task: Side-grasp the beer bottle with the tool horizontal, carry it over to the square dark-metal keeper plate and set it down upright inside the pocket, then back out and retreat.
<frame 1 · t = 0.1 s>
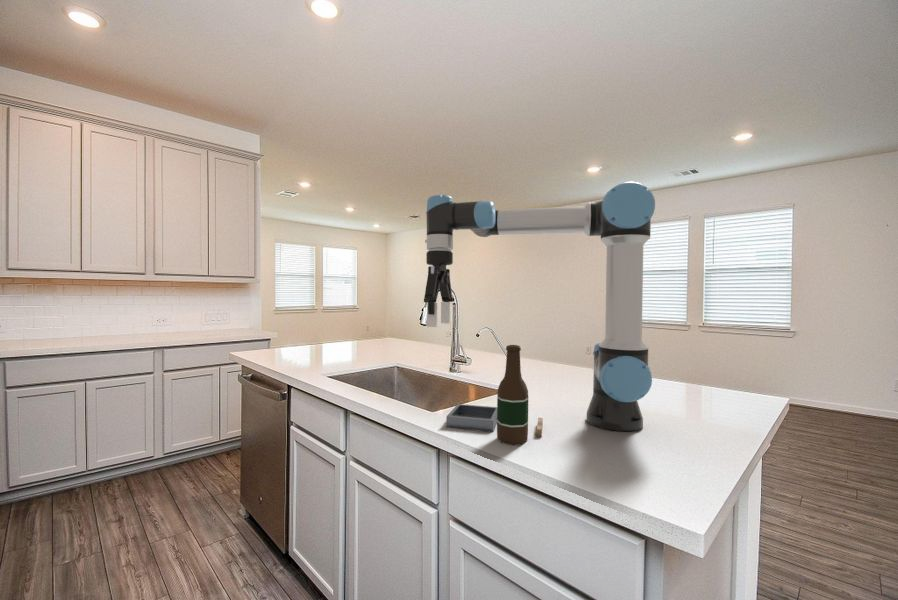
hand: (439, 325, 116), 28 cm above the worktop, tool pointing down, fingers open, 13 cm apart
keeper: (474, 422, 116), on the worktop
jamb strip: (539, 430, 109), on the worktop
beer bottle: (512, 440, 102), on the worktop
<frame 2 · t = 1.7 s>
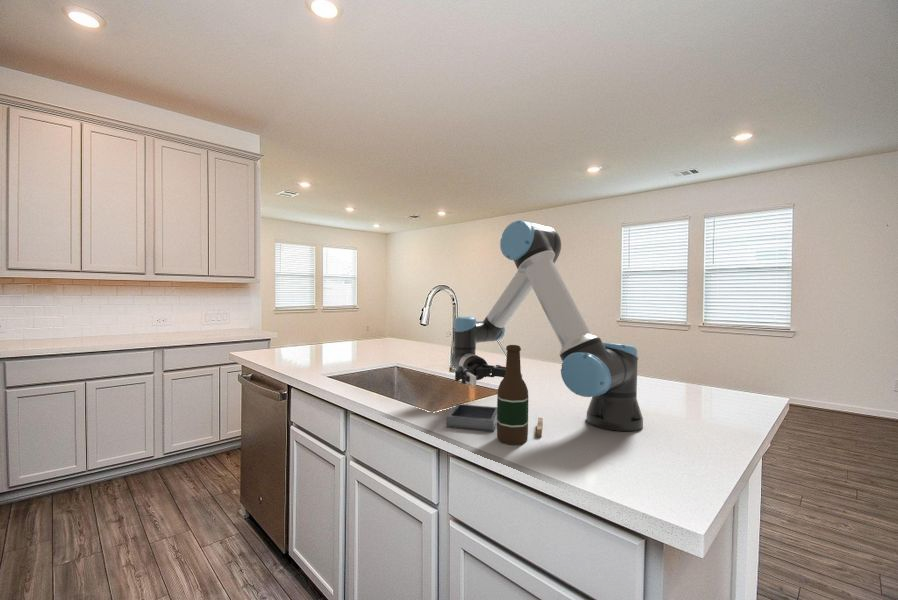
hand: (498, 380, 111), 13 cm above the worktop, tool horizontal, fingers open, 13 cm apart
nothing on the worktop moved.
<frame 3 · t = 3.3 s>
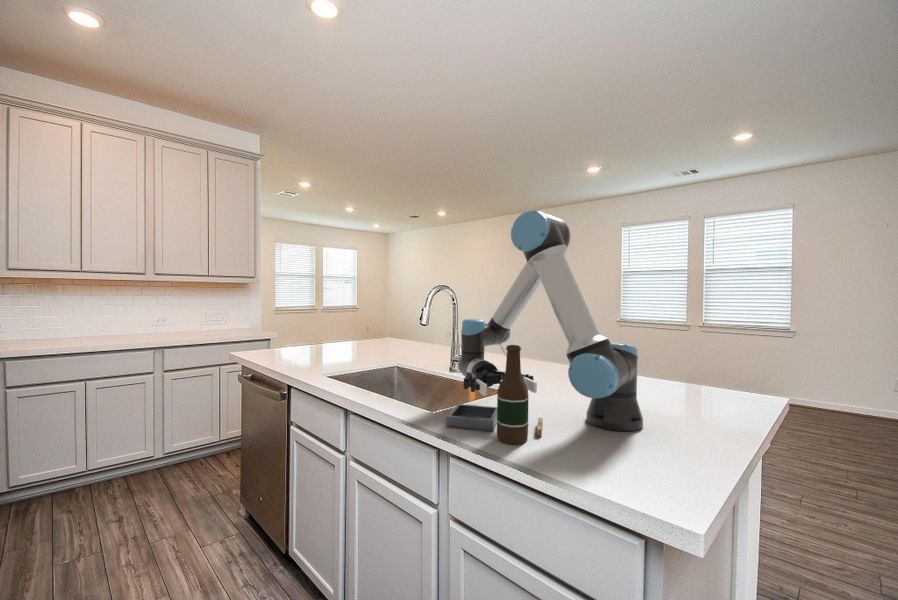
hand: (510, 388, 102), 13 cm above the worktop, tool horizontal, fingers open, 13 cm apart
nothing on the worktop moved.
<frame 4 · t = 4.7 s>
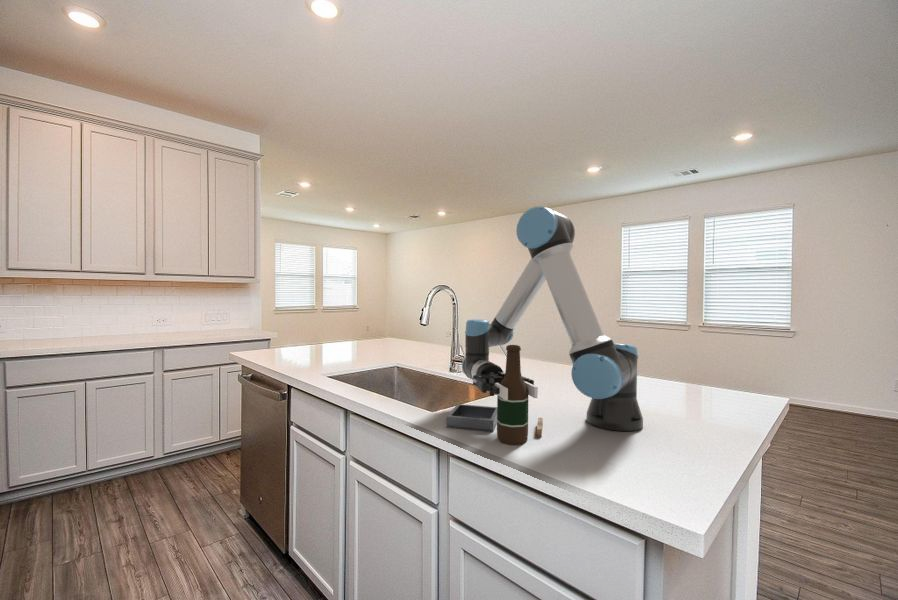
hand: (521, 393, 97), 13 cm above the worktop, tool horizontal, fingers closed on beer bottle, 7 cm apart
beer bottle: (512, 440, 102), on the worktop, touching gripper
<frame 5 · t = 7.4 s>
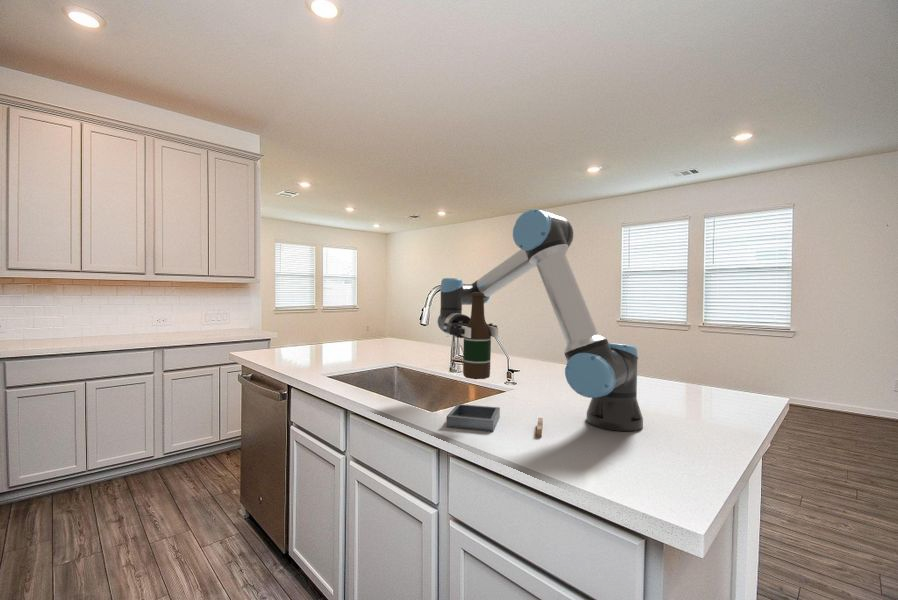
hand: (483, 332, 110), 26 cm above the worktop, tool horizontal, fingers closed on beer bottle, 7 cm apart
beer bottle: (476, 377, 115), point 13 cm above the worktop, touching gripper
when the fingers open (15 cm above the worktop, at t = 10.0 s): beer bottle drops 1 cm, resting on keeper.
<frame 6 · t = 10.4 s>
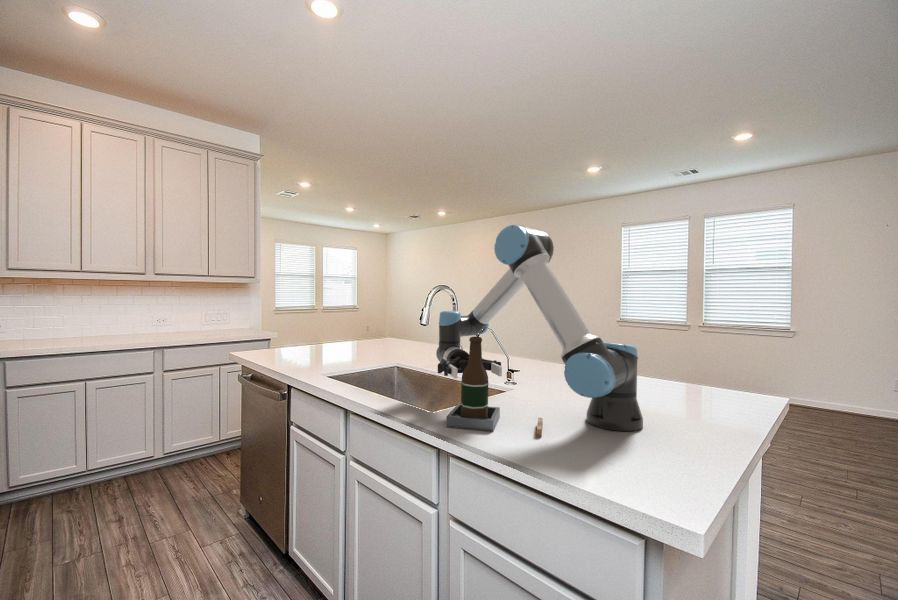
hand: (478, 372, 112), 15 cm above the worktop, tool horizontal, fingers open, 12 cm apart
beer bottle: (474, 420, 116), resting on keeper
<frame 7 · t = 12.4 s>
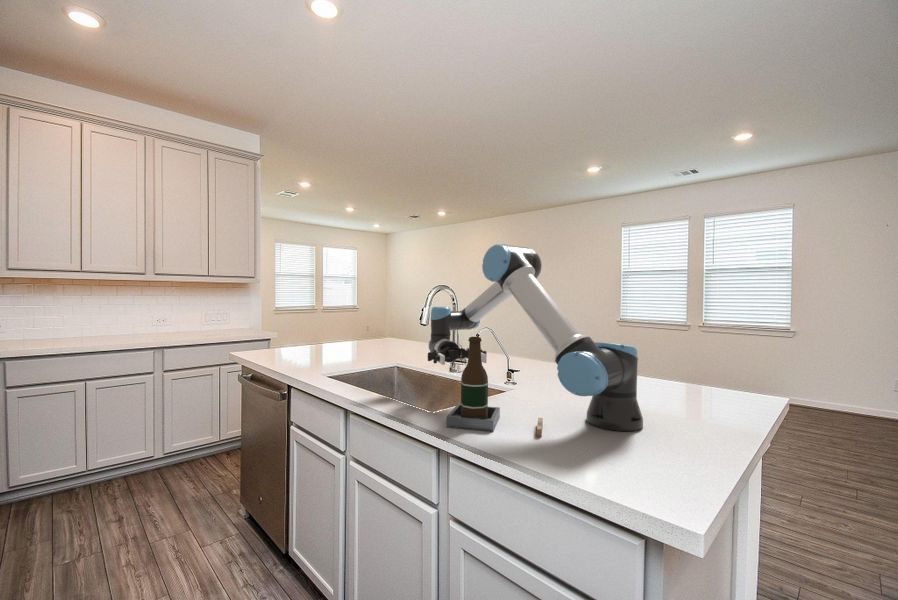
hand: (464, 359, 126), 16 cm above the worktop, tool horizontal, fingers open, 13 cm apart
nothing on the worktop moved.
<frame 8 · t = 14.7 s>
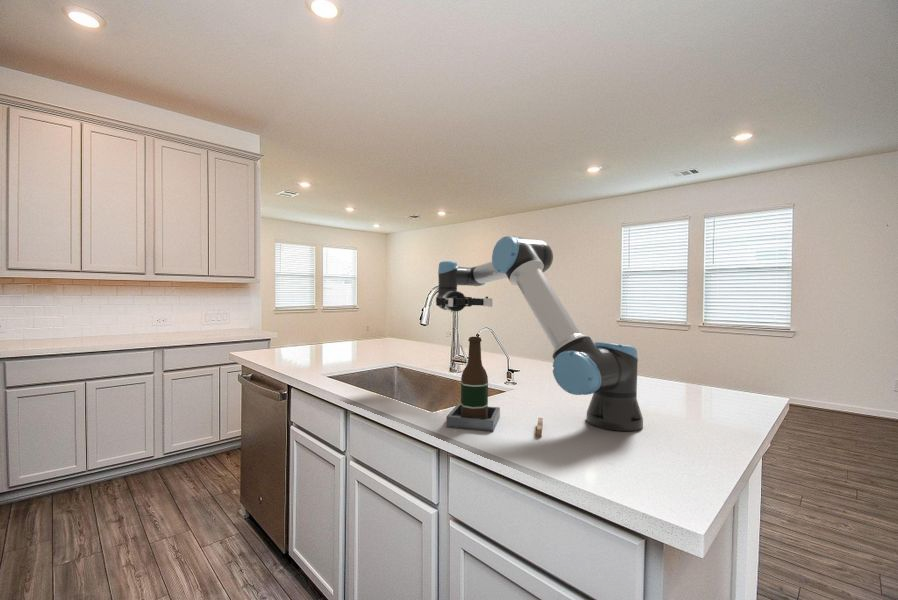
hand: (471, 302, 132), 34 cm above the worktop, tool horizontal, fingers open, 13 cm apart
nothing on the worktop moved.
at the end: beer bottle inside the target area on the keeper (0.1 cm from its centre), point 0.3 cm above the keeper's base; beer bottle tilted 0°; the gripper is holding nothing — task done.
